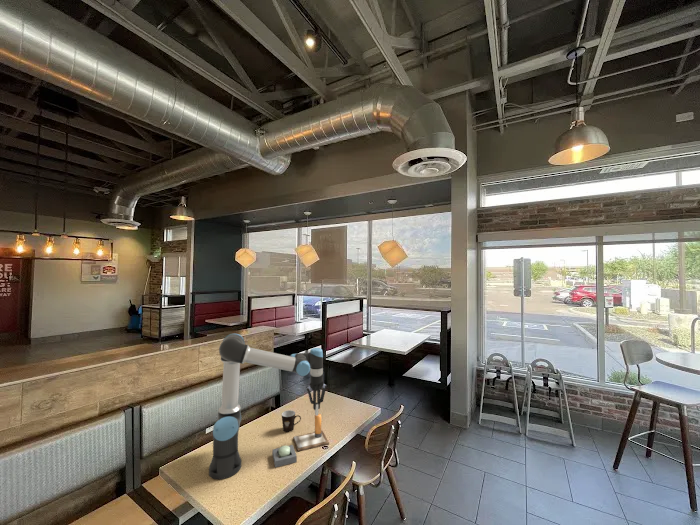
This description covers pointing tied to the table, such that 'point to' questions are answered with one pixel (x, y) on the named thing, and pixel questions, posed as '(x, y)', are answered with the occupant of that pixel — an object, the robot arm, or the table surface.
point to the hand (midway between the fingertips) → (316, 414)
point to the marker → (318, 426)
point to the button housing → (284, 460)
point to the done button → (284, 451)
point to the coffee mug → (289, 420)
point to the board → (309, 441)
